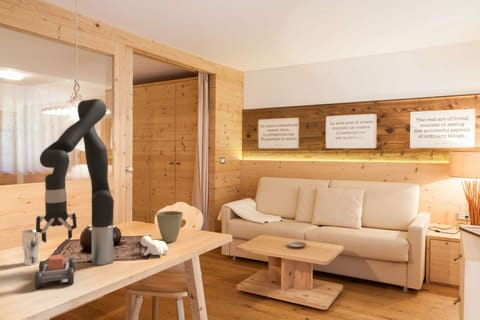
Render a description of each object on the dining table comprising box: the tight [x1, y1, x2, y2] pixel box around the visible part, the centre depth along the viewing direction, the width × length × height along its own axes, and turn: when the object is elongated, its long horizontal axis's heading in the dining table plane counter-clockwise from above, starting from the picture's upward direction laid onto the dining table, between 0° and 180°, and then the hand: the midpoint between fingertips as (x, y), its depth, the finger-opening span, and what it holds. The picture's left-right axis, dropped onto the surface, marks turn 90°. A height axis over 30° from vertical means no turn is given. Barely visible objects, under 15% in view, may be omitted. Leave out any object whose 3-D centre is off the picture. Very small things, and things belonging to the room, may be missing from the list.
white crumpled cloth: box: [140, 235, 170, 258], centre depth 175 cm, size 9×8×15 cm
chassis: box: [34, 257, 76, 289], centre depth 140 cm, size 13×19×6 cm
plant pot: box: [156, 210, 184, 243], centre depth 199 cm, size 15×15×16 cm
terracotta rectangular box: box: [47, 253, 64, 271], centre depth 139 cm, size 5×6×6 cm
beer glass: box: [21, 228, 41, 266], centre depth 159 cm, size 7×7×15 cm
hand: (57, 240), depth 138 cm, fingers open, 8 cm apart
